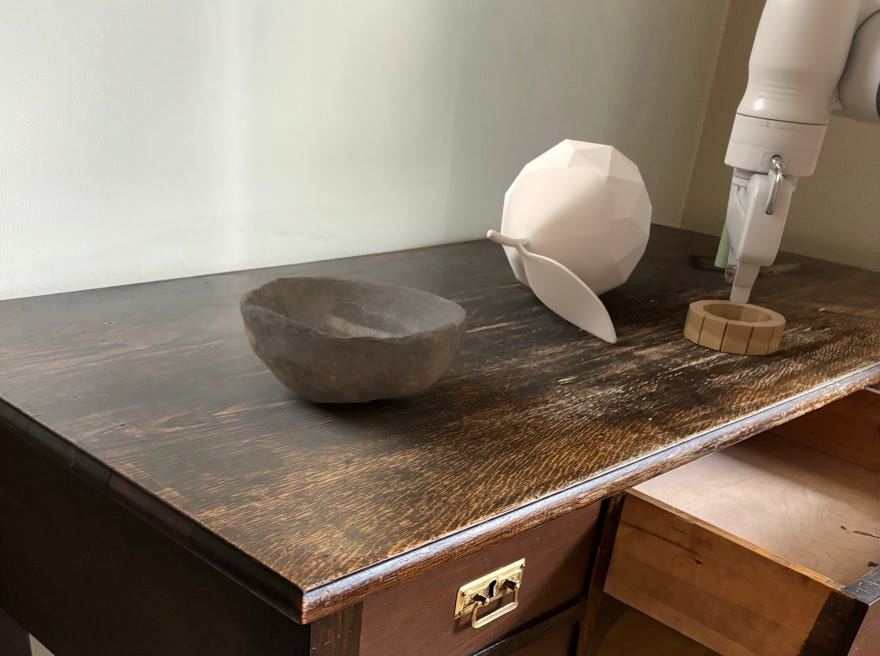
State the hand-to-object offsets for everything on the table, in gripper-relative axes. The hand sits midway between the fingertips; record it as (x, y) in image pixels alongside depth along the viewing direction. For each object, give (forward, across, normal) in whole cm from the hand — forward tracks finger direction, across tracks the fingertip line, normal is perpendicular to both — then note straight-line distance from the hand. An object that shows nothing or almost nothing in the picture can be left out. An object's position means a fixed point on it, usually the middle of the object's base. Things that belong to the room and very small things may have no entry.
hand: (734, 292), depth 105 cm
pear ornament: (+4, -1, +19) cm, 19 cm away
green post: (+4, +30, -1) cm, 30 cm away
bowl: (+5, -38, +33) cm, 51 cm away
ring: (+4, -4, 0) cm, 6 cm away
